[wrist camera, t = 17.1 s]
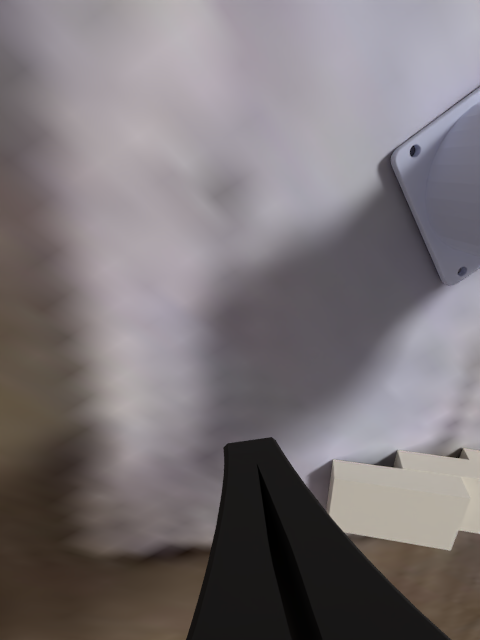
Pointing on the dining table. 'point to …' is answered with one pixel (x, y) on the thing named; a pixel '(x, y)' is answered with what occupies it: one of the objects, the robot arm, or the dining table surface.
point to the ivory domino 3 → (470, 454)
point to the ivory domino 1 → (397, 503)
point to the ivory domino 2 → (473, 474)
